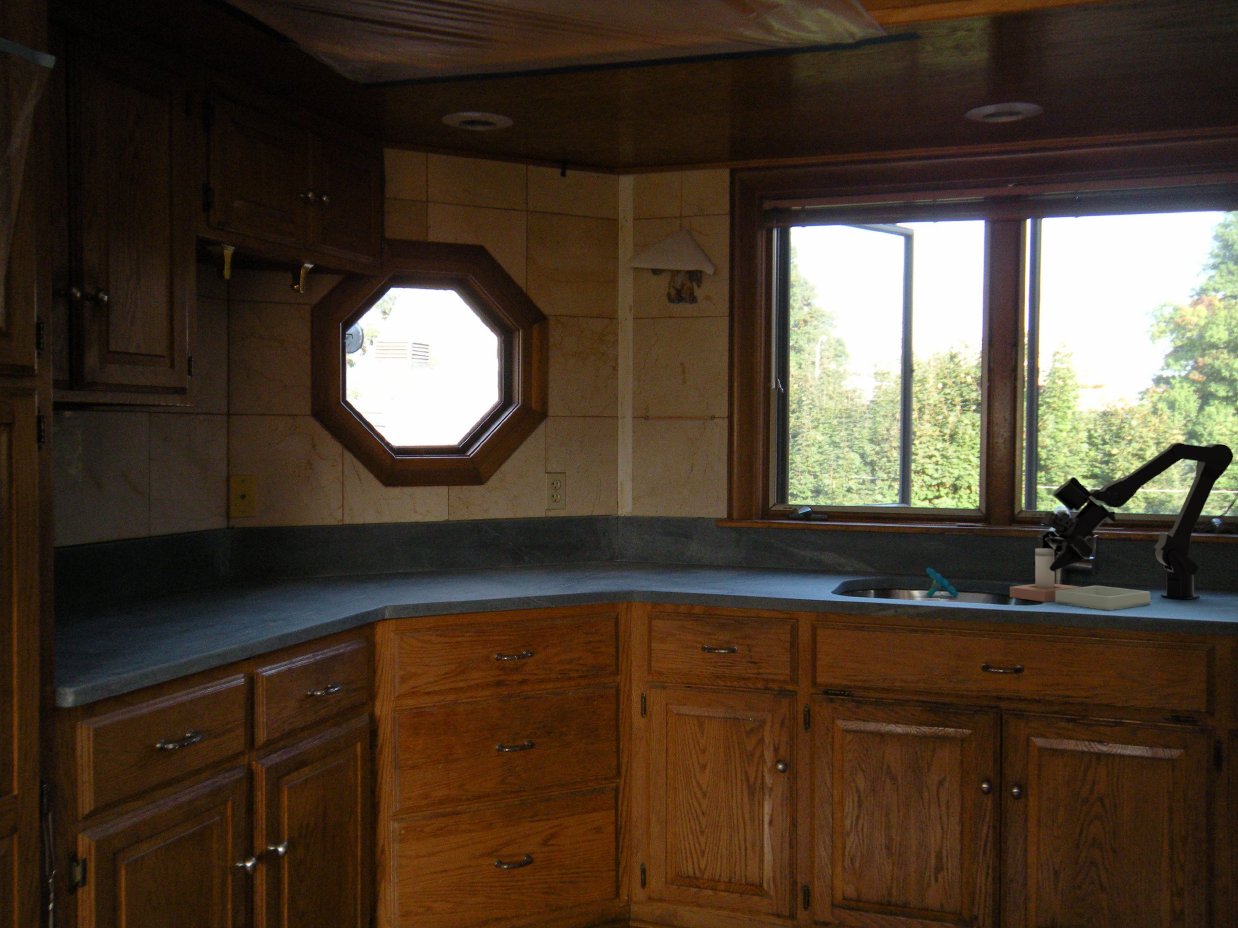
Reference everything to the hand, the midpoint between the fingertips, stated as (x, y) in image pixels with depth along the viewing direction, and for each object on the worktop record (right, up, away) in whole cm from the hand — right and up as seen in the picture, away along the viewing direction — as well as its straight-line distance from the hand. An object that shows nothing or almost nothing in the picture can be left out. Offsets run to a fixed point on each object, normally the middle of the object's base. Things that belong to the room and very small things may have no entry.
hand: (1041, 567), depth 260 cm
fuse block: (+1, -7, 0) cm, 7 cm away
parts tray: (+10, -7, -12) cm, 17 cm away
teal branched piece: (-24, -8, +2) cm, 26 cm away
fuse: (+1, -7, 0) cm, 7 cm away
